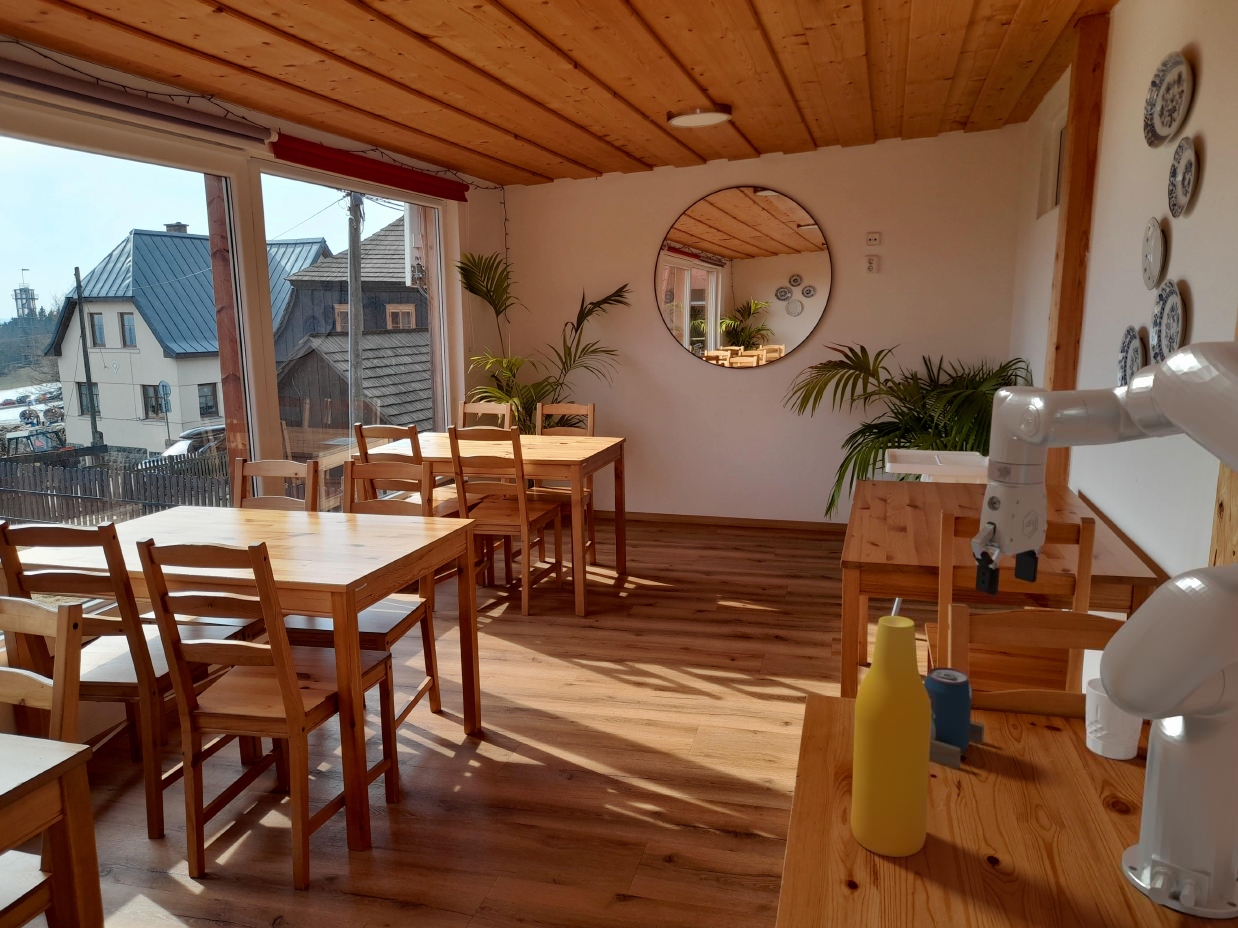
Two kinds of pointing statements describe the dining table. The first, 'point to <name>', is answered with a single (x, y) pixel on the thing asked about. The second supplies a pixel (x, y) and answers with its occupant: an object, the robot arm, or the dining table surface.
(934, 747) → the gray u-shaped bracket
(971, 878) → the dining table surface
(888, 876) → the dining table surface
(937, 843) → the dining table surface
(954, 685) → the soda can
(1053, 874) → the dining table surface
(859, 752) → the yellow bottle
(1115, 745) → the white cup
